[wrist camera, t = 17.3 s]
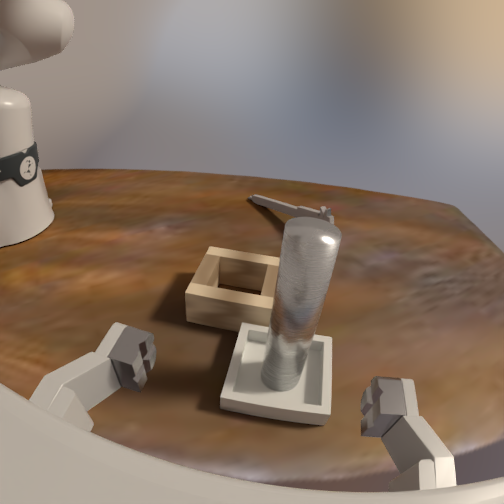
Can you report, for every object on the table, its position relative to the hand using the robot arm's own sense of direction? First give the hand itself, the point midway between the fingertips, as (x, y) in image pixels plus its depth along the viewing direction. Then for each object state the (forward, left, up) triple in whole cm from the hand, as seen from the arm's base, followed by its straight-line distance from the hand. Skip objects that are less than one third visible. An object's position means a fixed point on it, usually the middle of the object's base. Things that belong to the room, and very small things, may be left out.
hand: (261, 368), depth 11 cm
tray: (+2, +11, -16) cm, 19 cm away
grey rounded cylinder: (+2, +11, -15) cm, 19 cm away
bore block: (-4, +21, -16) cm, 26 cm away
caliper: (-1, +44, -16) cm, 47 cm away
